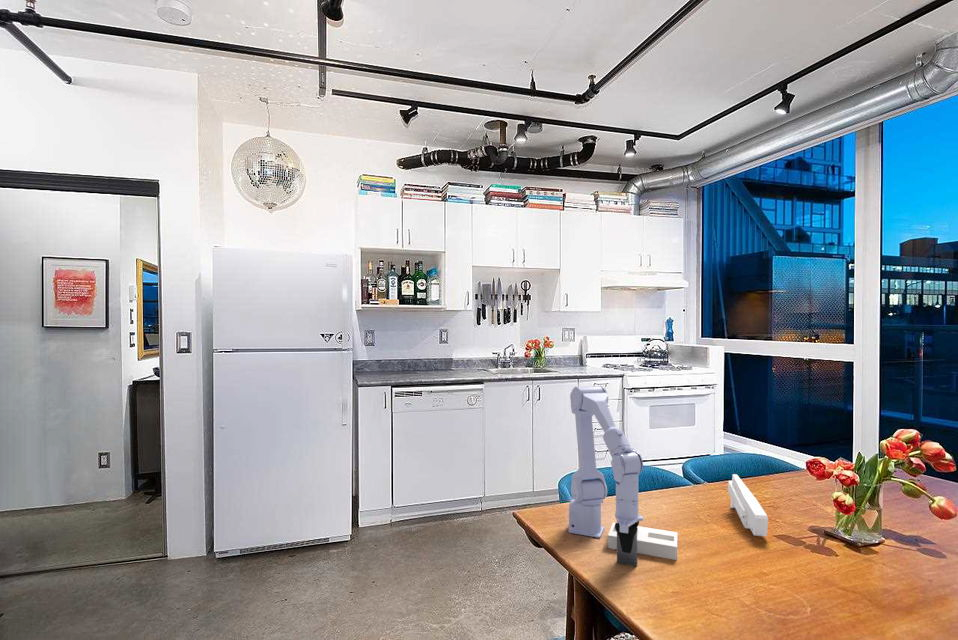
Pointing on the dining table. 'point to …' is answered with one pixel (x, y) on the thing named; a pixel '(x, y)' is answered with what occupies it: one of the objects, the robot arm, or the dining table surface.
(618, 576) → the dining table surface
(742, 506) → the shelf bracket
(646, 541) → the white board with holes
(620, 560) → the gray rectangular block
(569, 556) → the dining table surface
